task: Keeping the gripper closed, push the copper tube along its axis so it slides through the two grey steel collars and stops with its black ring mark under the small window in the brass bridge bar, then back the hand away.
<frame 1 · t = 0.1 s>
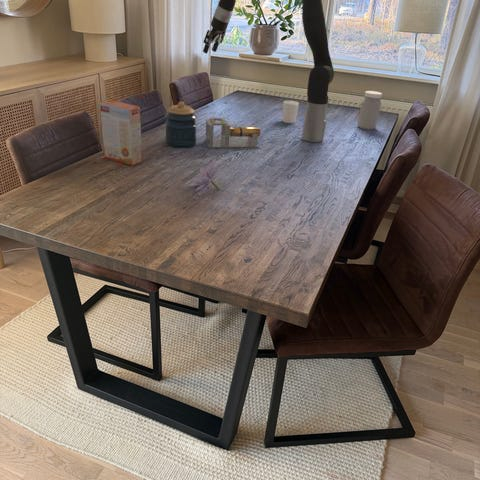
hand: (209, 51, 211), 31 cm above the table, tool tilted 20°, fingers open, 8 cm apart
canister: (180, 144, 188), on the table
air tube: (244, 131, 191), point 5 cm above the table, slide at 0.0 cm
water lily: (203, 190, 149), on the table
white cup: (288, 122, 232), on the table
jar: (366, 127, 233), on the table
cracker box: (123, 160, 167), on the table
collar stand: (231, 144, 193), on the table
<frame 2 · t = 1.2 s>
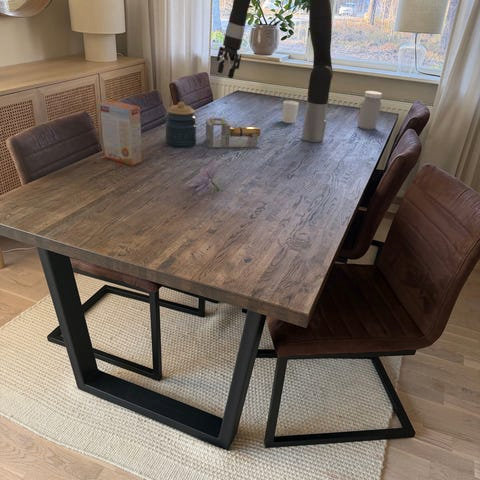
hand: (224, 75, 194), 26 cm above the table, tool pointing down, fingers open, 8 cm apart
nothing on the table moved.
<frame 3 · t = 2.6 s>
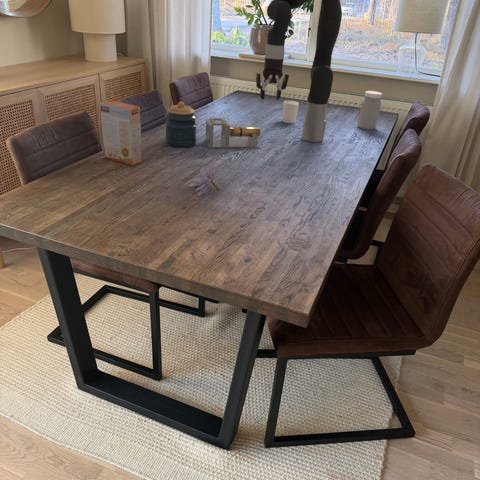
hand: (270, 99, 186), 20 cm above the table, tool pointing down, fingers open, 6 cm apart
nothing on the table moved.
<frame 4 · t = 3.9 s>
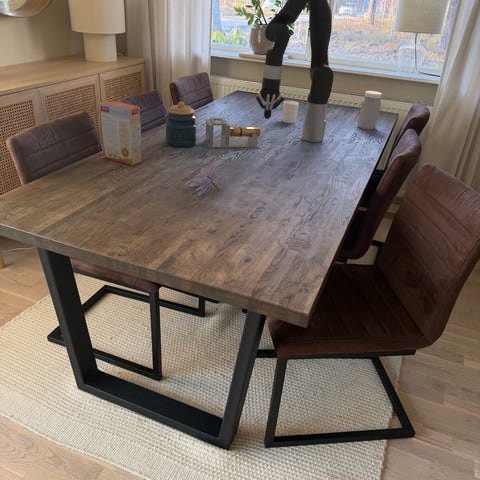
hand: (266, 118, 191), 11 cm above the table, tool pointing down, fingers closed
nothing on the table moved.
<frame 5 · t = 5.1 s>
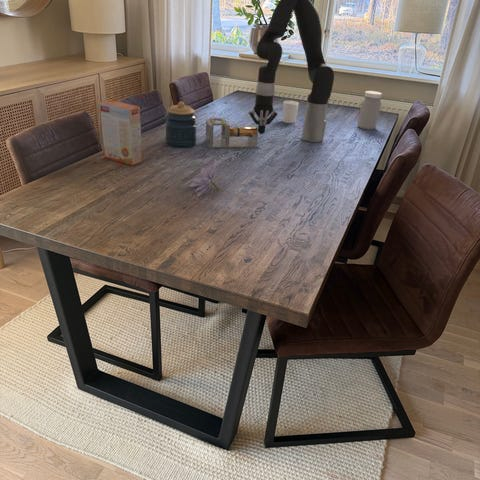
hand: (261, 133, 193), 5 cm above the table, tool pointing down, fingers closed
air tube: (242, 131, 191), point 5 cm above the table, slide at 1.1 cm, touching gripper
everything else where it was.
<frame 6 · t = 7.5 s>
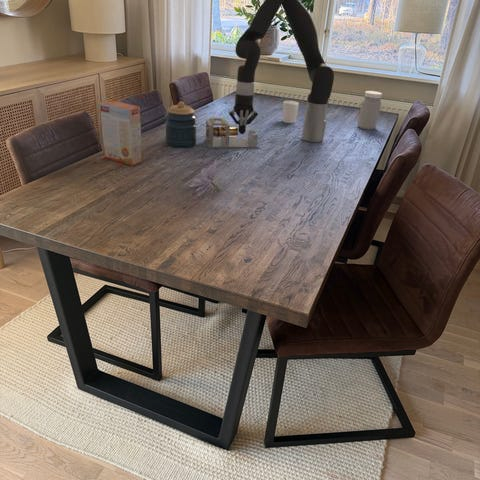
hand: (241, 133, 191), 5 cm above the table, tool pointing down, fingers closed
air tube: (222, 131, 189), point 5 cm above the table, slide at 9.9 cm, touching gripper
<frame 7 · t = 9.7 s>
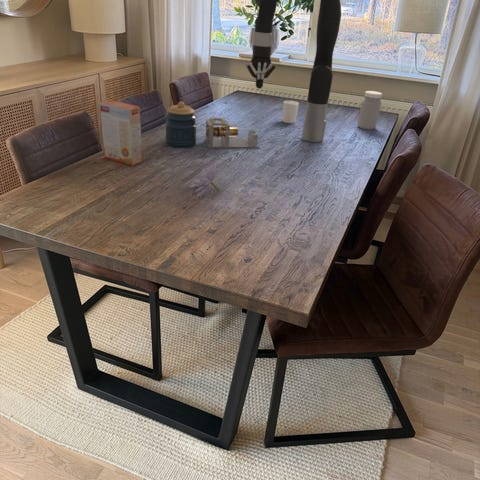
hand: (258, 88, 189), 23 cm above the table, tool pointing down, fingers closed
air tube: (222, 131, 189), point 5 cm above the table, slide at 9.9 cm
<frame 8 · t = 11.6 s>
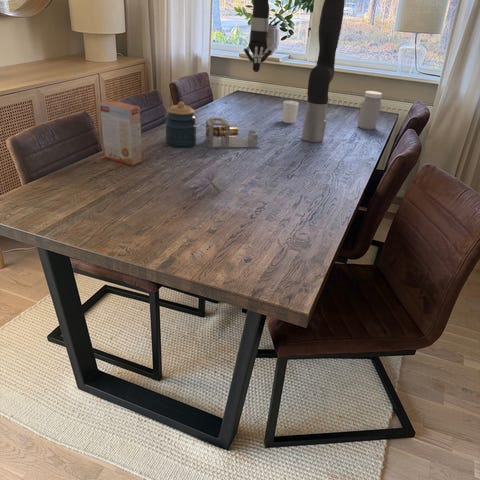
hand: (255, 71, 199), 27 cm above the table, tool pointing down, fingers closed
at the end: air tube slide at 9.9 cm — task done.
